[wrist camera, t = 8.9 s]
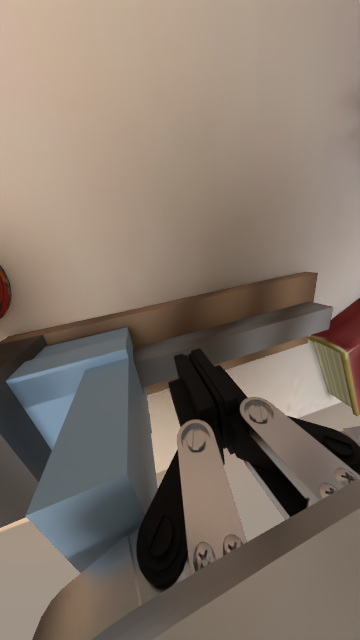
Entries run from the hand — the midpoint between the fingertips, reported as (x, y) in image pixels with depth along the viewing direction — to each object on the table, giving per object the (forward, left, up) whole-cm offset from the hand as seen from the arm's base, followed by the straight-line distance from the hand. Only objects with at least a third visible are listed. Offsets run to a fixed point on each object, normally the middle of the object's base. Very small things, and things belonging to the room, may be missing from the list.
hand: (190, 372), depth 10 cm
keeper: (+5, -3, -3) cm, 6 cm away
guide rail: (-1, +1, -5) cm, 5 cm away
